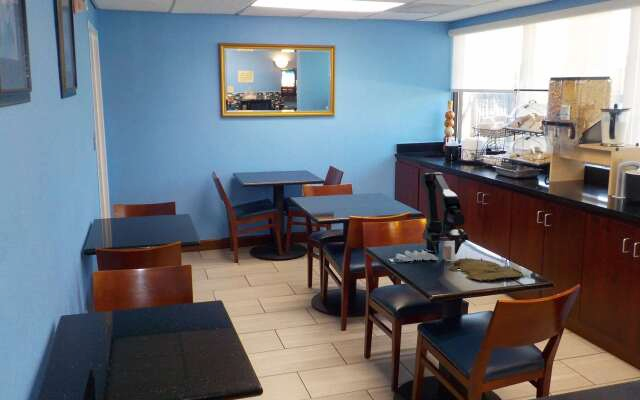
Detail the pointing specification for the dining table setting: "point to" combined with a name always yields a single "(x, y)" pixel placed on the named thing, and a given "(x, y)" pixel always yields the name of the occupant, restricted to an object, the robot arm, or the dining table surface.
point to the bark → (484, 269)
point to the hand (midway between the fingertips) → (446, 254)
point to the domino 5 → (447, 252)
